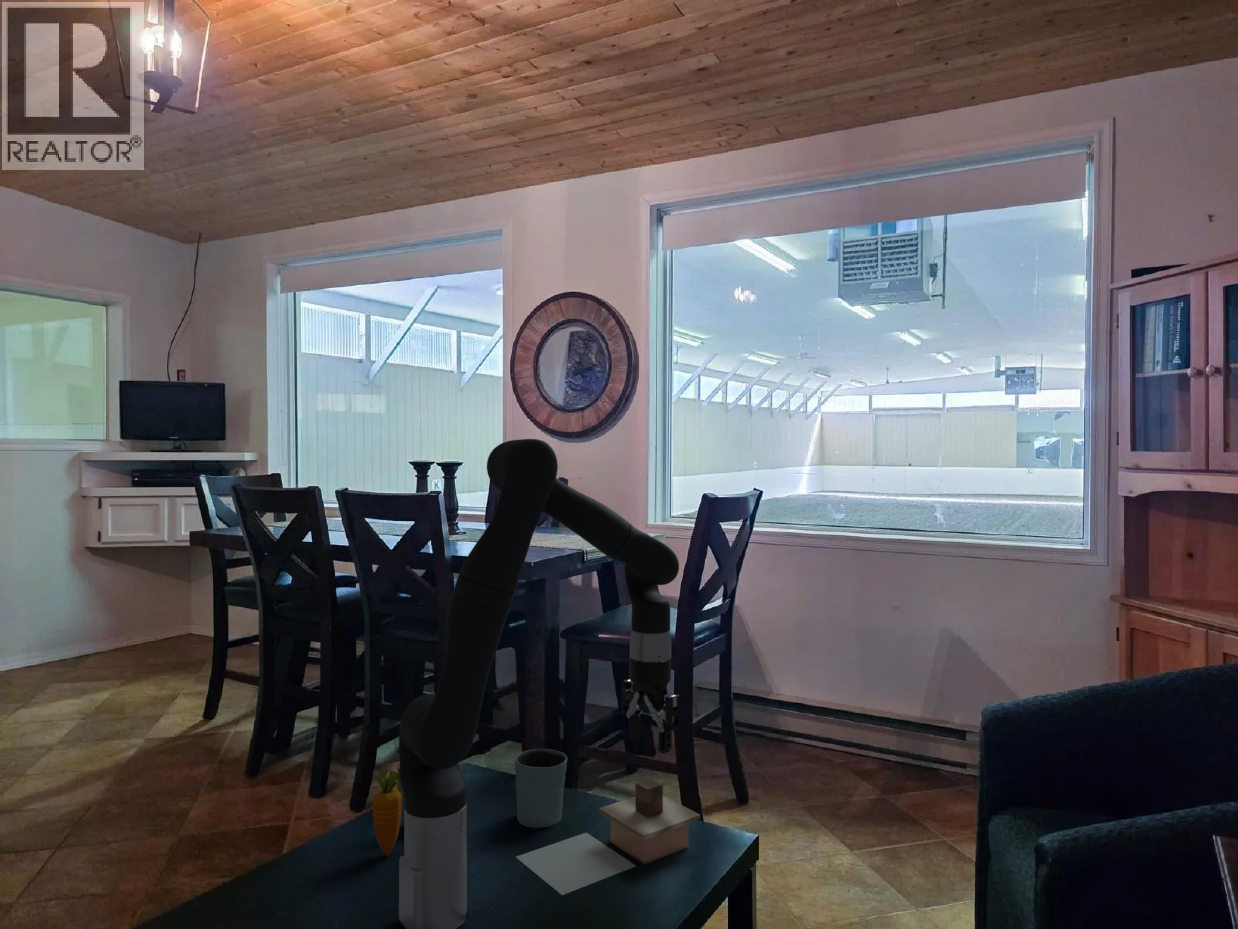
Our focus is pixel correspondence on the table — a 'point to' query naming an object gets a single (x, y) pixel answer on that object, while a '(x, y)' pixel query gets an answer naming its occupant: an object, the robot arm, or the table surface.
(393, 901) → the table surface
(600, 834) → the table surface
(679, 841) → the open square box
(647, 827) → the lid
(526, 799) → the grey cup
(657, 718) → the robot arm
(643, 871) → the table surface
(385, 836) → the carrot
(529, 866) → the tray
